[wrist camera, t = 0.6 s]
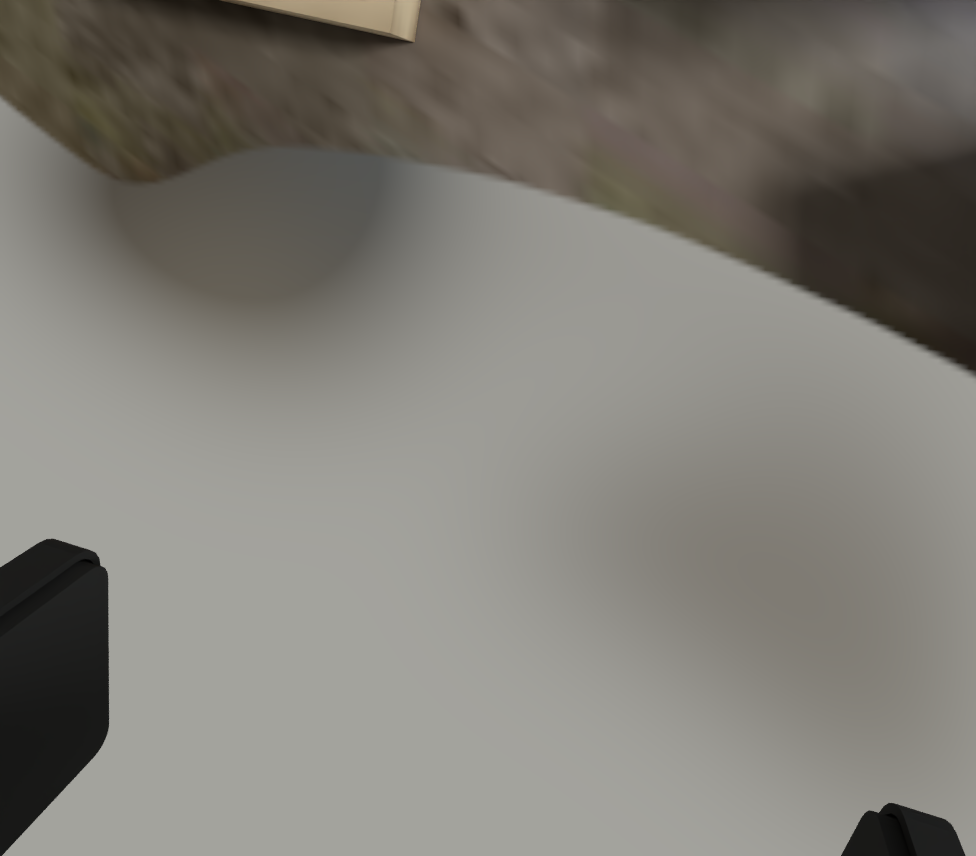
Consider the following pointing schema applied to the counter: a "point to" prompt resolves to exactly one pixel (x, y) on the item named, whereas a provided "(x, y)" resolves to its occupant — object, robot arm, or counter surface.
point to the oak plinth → (351, 14)
